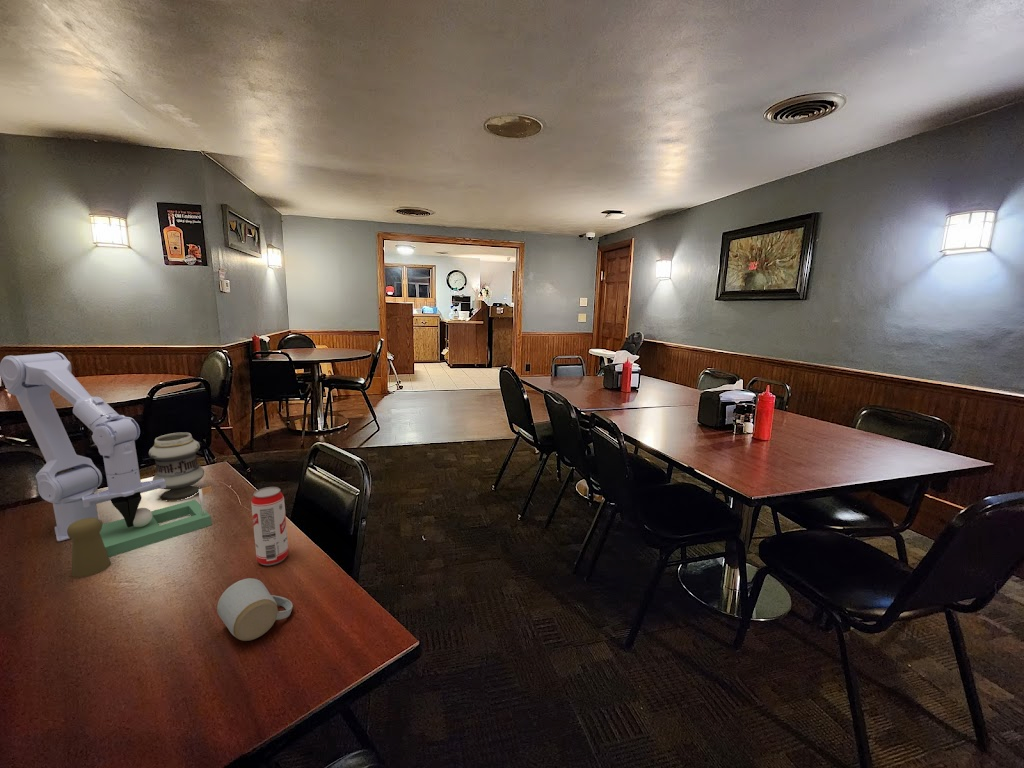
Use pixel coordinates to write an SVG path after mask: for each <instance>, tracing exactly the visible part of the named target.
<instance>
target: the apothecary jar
mask: <svg viewBox="0 0 1024 768" xmlns="http://www.w3.org/2000/svg"><path fill="white" fill-rule="evenodd" d="M200 449H201V445H200V442H199V441H197V440H196V439H194V438H193V436H192V434H191V433H190V432H187V431H186V432H180V431H179V432H173V433H167V434H164V435H162V434H161V435H160V436H158V437H155V439H154V443H153V445H152V447H150V449H149V451H148V456H149V457H150V458H151V459H153V460H154V463H155V468H156V473H155V474H154V476H153V478H152V481H153V480H159V479H164V480H165V483H166V488H163V489H162V490H166V491H165V492H163V493H162V494H161V495H160V496H159V499H160V501H166V500H167V501H166V502H169V501H171V502H178V501H177V500H180V501H182V500H181V499H185V498H187V497H190V496H192V495H194V494H195V493H197V492H198V491H199V490H198V489H200V488H201V487H200V486H198V487H197V485H195V484H196V483H198V482H199V481H201V480H202V478H203V477H204V475H205V469H204V468H203V467H202V466H201V465H199V463H198V457H197V452H198V451H199V450H200ZM199 487H200V488H199ZM185 500H186V499H185Z"/></svg>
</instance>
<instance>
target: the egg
mask: <svg viewBox="0 0 1024 768" xmlns="http://www.w3.org/2000/svg"><path fill="white" fill-rule="evenodd" d="M151 511H152V510H151V509H149V508H146V507H138V508H137V511H136V514H135V518H134V521H133V525H134V526H133V527H143V526H145V525H147V524H148V523H149V522H150V521H151V520H152V512H151Z"/></svg>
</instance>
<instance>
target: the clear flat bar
mask: <svg viewBox="0 0 1024 768" xmlns="http://www.w3.org/2000/svg"><path fill="white" fill-rule="evenodd" d="M198 490H199V494H198V496H199V504H200V506H201V515H202V516H203V515H205V511H204V509H205V504H204V497H203V496H204V495H207V494H210V493H213V488H212V486H207V487H203V488H201V489H198Z"/></svg>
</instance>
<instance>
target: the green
mask: <svg viewBox="0 0 1024 768" xmlns="http://www.w3.org/2000/svg"><path fill="white" fill-rule="evenodd" d="M150 511H151V512H152V520H151V521H150V522H149V523H148V524H147V525H145V526H143V527H133V526H131V527H127V525H126V522H125V519H124V518H122V519H118V520H113V521H110V522H107V523H102V529H101V531H100V535H101V538H102V540H103V543H104V546H105V548H106V551H107V554H108V557H109V558H111V557H114V556H117V555H121V554H124V553H126V552H130V551H133V550H136V549H139V548H142V547H146V546H149V545H153V544H155V543H159V542H161V541H165V540H168V539H171V538H173V537H177V536H178V537H179V536H181V535H185V534H188V533H190V532H194V531H197V530H201V529H203V528H206V527H210V526H212V525H213V524H212V517H211V515H210V514H209V512H208V511H207V510H206V509H205V508H204V511H205V515H203V516H202V515H201V506H200V502H198V500H196V499H192V500H189V501H185V502H181V503H177V504H174V505H173V504H172V505H169V506H166V507H163V508H159V509H155V510H150ZM189 514H190V515H191V516H190V515H189ZM188 515H189V516H188ZM185 516H188V517H185ZM182 517H183V518H182ZM180 518H181V519H180ZM176 519H178V520H176ZM172 520H174V521H172ZM168 521H169V522H168ZM170 521H172V522H170ZM165 522H166V523H165ZM167 522H168V523H167ZM162 523H163V524H162Z"/></svg>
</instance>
